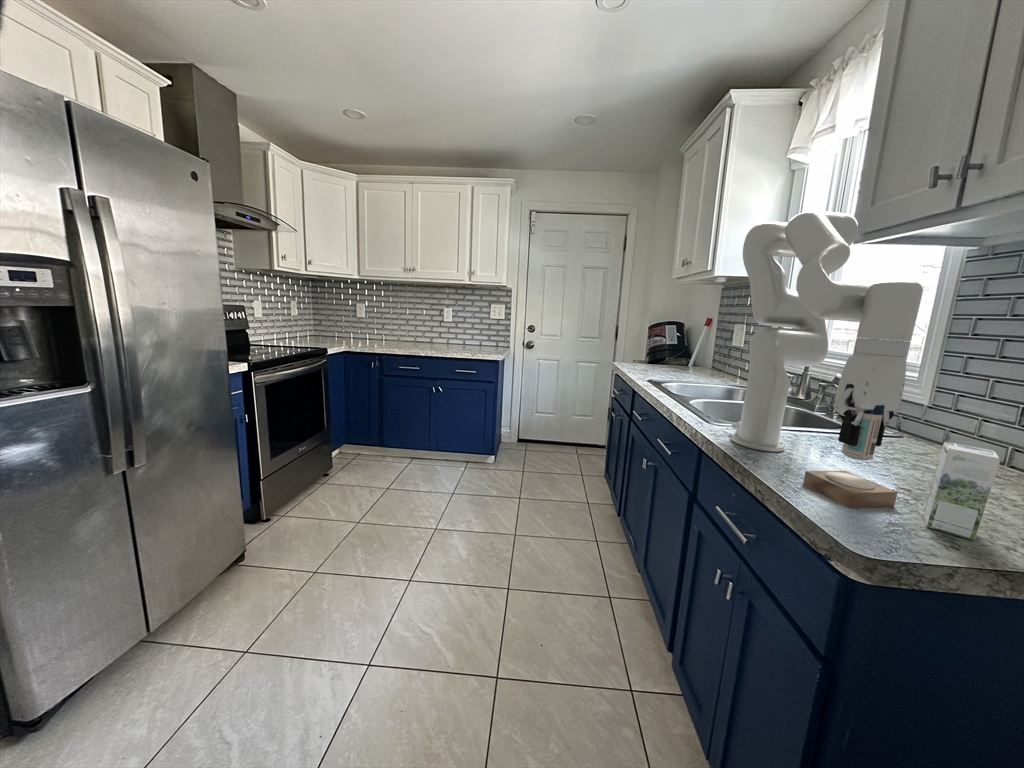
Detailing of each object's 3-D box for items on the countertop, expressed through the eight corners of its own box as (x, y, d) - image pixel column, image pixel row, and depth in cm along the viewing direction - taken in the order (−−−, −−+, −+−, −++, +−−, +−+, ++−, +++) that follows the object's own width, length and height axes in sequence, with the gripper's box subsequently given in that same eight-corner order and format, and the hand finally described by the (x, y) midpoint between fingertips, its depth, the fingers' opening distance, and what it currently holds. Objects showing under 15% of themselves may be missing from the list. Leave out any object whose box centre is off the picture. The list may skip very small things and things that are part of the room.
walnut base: (802, 484, 84) (805, 469, 83) (842, 483, 86) (845, 469, 85) (850, 508, 74) (854, 491, 74) (893, 506, 76) (898, 490, 75)
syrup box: (969, 529, 69) (993, 449, 67) (975, 542, 65) (1001, 457, 62) (922, 516, 73) (943, 439, 70) (925, 528, 68) (948, 446, 66)
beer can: (867, 456, 79) (881, 396, 77) (876, 463, 75) (891, 401, 73) (837, 451, 81) (850, 393, 79) (845, 458, 77) (858, 397, 75)
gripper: (894, 350, 80) (874, 438, 83) (823, 345, 77) (804, 437, 80) (940, 354, 73) (916, 450, 76) (863, 349, 69) (841, 450, 73)
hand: (859, 442), depth 78 cm, fingers closed on beer can, 4 cm apart
